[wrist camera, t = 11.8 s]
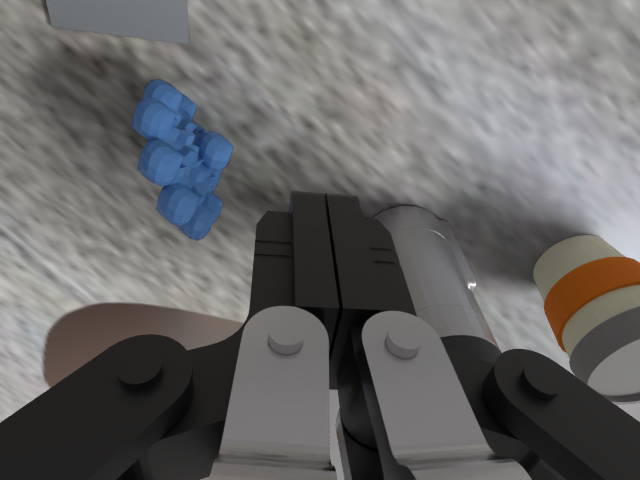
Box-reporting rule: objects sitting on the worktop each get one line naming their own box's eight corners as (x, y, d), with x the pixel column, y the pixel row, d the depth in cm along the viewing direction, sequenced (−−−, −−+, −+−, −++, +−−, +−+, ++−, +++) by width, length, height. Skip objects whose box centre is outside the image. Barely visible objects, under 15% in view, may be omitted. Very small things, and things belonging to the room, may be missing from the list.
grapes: (261, 172, 42) (255, 251, 33) (196, 189, 43) (172, 271, 33) (213, 50, 35) (186, 105, 25) (136, 73, 36) (82, 136, 26)
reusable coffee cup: (514, 242, 50) (585, 349, 38) (629, 207, 48) (742, 308, 36) (521, 310, 57) (582, 417, 45) (621, 283, 55) (712, 387, 43)
